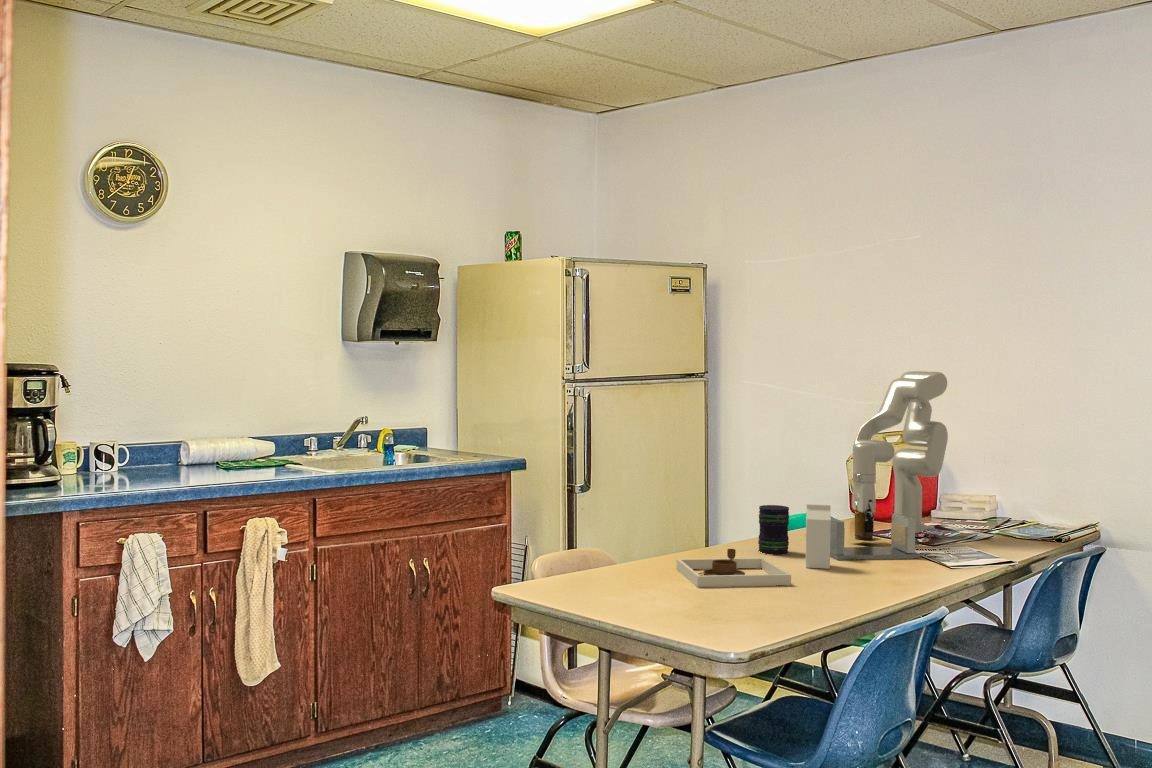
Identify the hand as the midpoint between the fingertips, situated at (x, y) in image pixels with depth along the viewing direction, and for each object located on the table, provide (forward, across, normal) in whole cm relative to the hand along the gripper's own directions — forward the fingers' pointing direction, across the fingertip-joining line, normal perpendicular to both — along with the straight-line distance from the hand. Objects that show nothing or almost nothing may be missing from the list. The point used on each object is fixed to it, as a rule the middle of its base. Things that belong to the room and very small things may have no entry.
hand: (864, 529), depth 365 cm
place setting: (+2, +50, -62) cm, 80 cm away
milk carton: (+3, +37, -31) cm, 48 cm away
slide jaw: (+3, +21, +6) cm, 22 cm away
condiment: (+3, +1, 0) cm, 3 cm away
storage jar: (+4, +13, -37) cm, 39 cm away
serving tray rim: (+2, +50, -62) cm, 79 cm away
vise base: (+4, +21, -7) cm, 22 cm away
